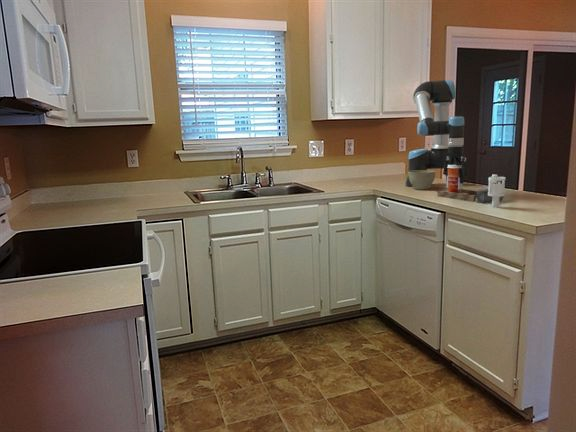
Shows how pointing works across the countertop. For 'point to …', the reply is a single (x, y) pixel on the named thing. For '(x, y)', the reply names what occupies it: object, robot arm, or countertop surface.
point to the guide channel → (469, 195)
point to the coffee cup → (453, 178)
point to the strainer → (496, 189)
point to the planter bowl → (421, 178)
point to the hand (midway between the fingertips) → (454, 188)
